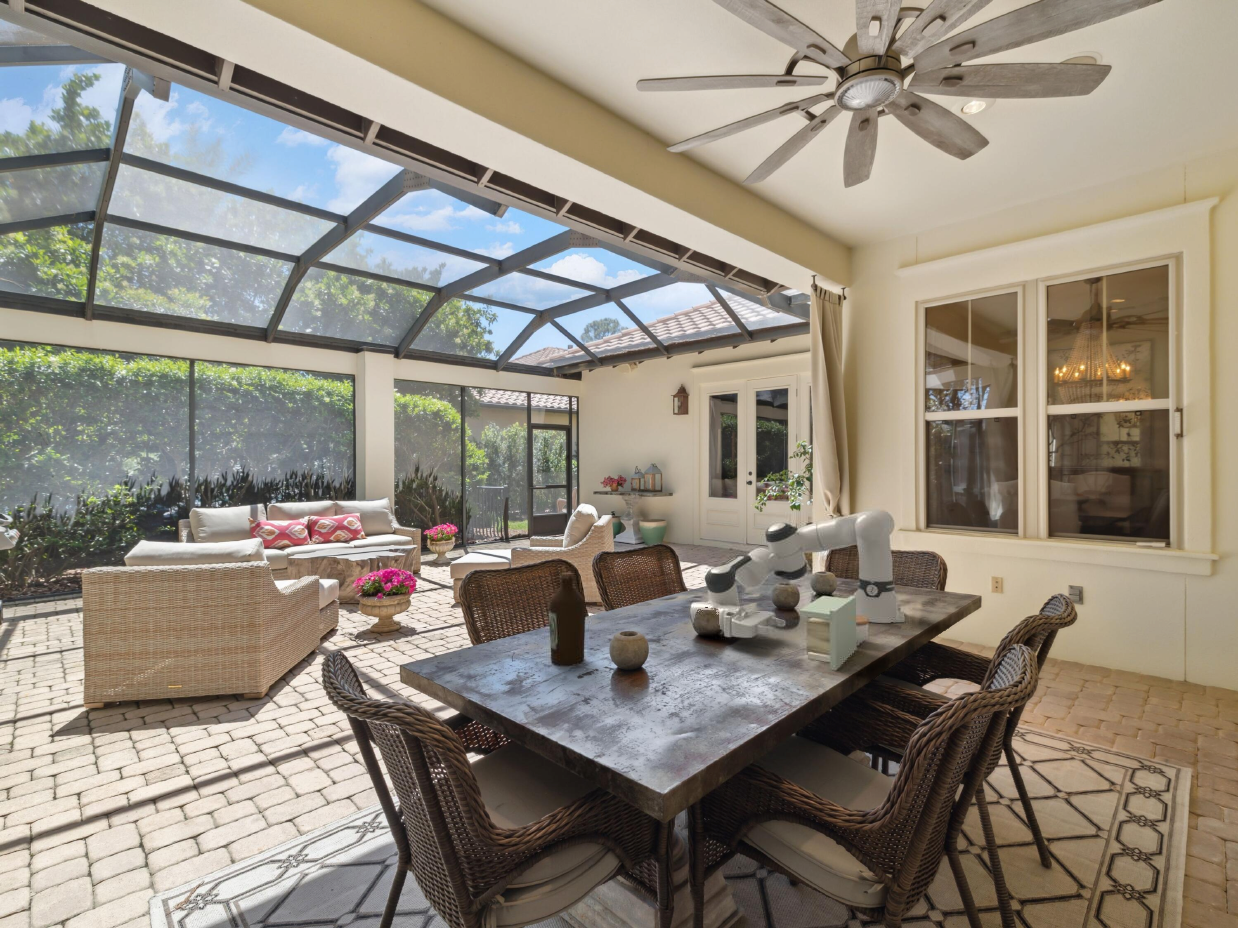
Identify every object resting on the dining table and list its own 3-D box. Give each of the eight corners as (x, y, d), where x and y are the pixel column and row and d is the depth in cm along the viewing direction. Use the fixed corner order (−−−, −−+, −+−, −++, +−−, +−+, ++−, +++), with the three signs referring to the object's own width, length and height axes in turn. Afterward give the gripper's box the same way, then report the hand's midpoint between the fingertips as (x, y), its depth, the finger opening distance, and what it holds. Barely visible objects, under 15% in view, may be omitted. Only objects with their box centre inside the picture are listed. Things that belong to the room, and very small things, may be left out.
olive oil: (581, 653, 177) (580, 569, 177) (590, 664, 167) (589, 575, 167) (545, 656, 174) (545, 571, 174) (552, 668, 163) (552, 577, 164)
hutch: (823, 644, 183) (823, 592, 184) (856, 649, 178) (856, 596, 178) (799, 663, 166) (799, 606, 166) (835, 670, 160) (835, 611, 160)
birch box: (812, 651, 177) (811, 617, 177) (839, 656, 172) (839, 621, 172) (807, 655, 173) (806, 621, 173) (835, 660, 169) (834, 625, 169)
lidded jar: (874, 647, 180) (874, 616, 180) (839, 647, 180) (838, 616, 180) (861, 637, 191) (860, 608, 191) (827, 637, 191) (827, 608, 191)
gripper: (749, 623, 197) (790, 629, 189) (722, 637, 180) (766, 645, 172) (749, 603, 197) (790, 609, 189) (722, 617, 180) (766, 623, 172)
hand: (779, 627), depth 180 cm, fingers open, 8 cm apart
